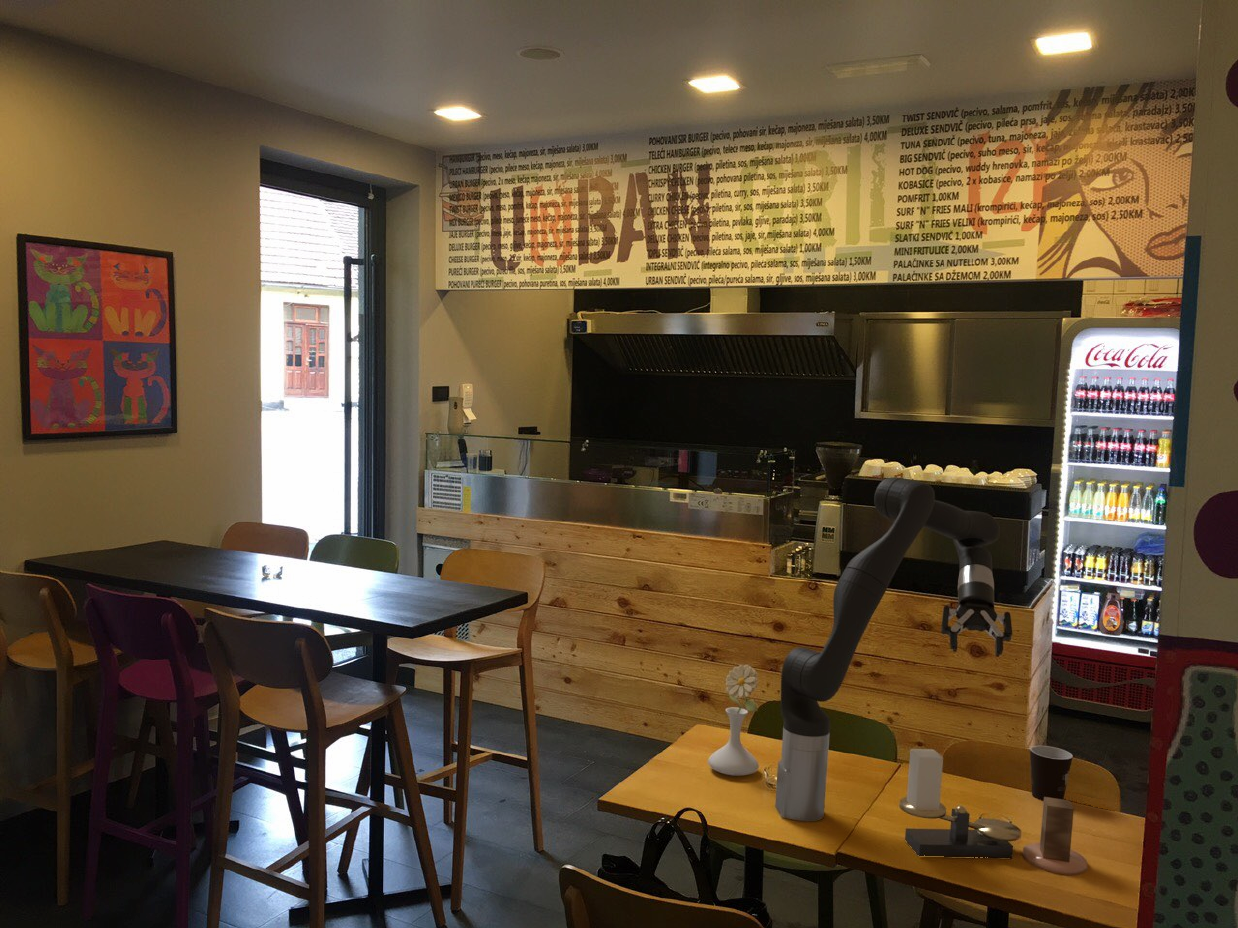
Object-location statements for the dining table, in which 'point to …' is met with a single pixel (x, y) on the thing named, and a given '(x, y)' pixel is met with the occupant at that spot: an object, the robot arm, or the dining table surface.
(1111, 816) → the dining table surface
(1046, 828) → the walnut block
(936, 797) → the pale block
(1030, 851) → the saucer
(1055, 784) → the coffee mug
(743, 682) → the flower in vase
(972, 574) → the robot arm
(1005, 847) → the balance
